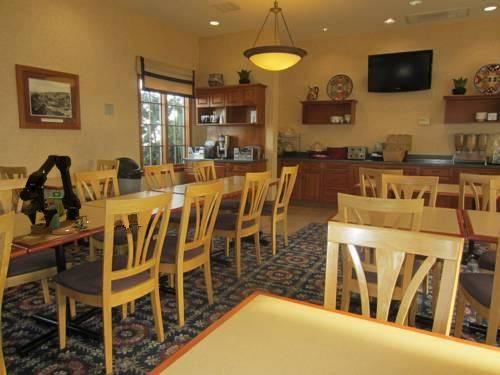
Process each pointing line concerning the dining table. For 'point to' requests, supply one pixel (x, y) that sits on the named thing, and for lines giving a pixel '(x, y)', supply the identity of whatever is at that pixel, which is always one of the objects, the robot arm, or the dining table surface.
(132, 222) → the stone cup
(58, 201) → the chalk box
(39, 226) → the sleeve
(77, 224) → the balance
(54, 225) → the block
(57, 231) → the dish
